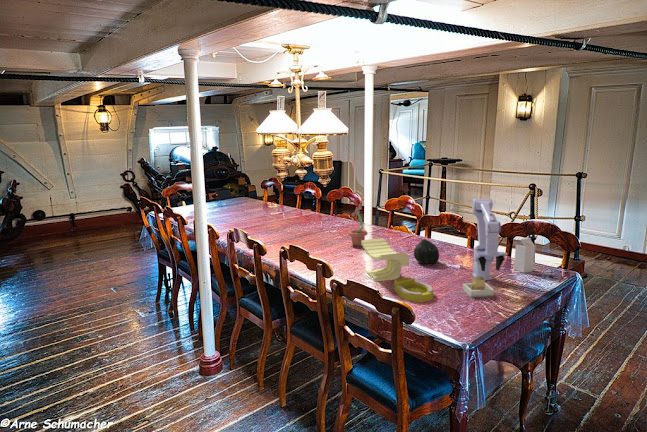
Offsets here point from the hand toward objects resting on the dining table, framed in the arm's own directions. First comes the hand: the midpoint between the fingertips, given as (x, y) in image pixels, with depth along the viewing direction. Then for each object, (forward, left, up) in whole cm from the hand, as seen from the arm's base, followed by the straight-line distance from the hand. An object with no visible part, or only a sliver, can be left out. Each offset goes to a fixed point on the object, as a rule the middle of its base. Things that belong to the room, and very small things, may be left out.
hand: (490, 270), depth 212 cm
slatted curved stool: (-24, -50, -10) cm, 56 cm away
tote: (+6, -9, -9) cm, 15 cm away
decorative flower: (-90, -54, -10) cm, 105 cm away
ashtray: (+3, -41, -10) cm, 42 cm away
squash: (-44, -19, -10) cm, 49 cm away
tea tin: (+6, -9, -8) cm, 14 cm away
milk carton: (-22, +31, -10) cm, 39 cm away
